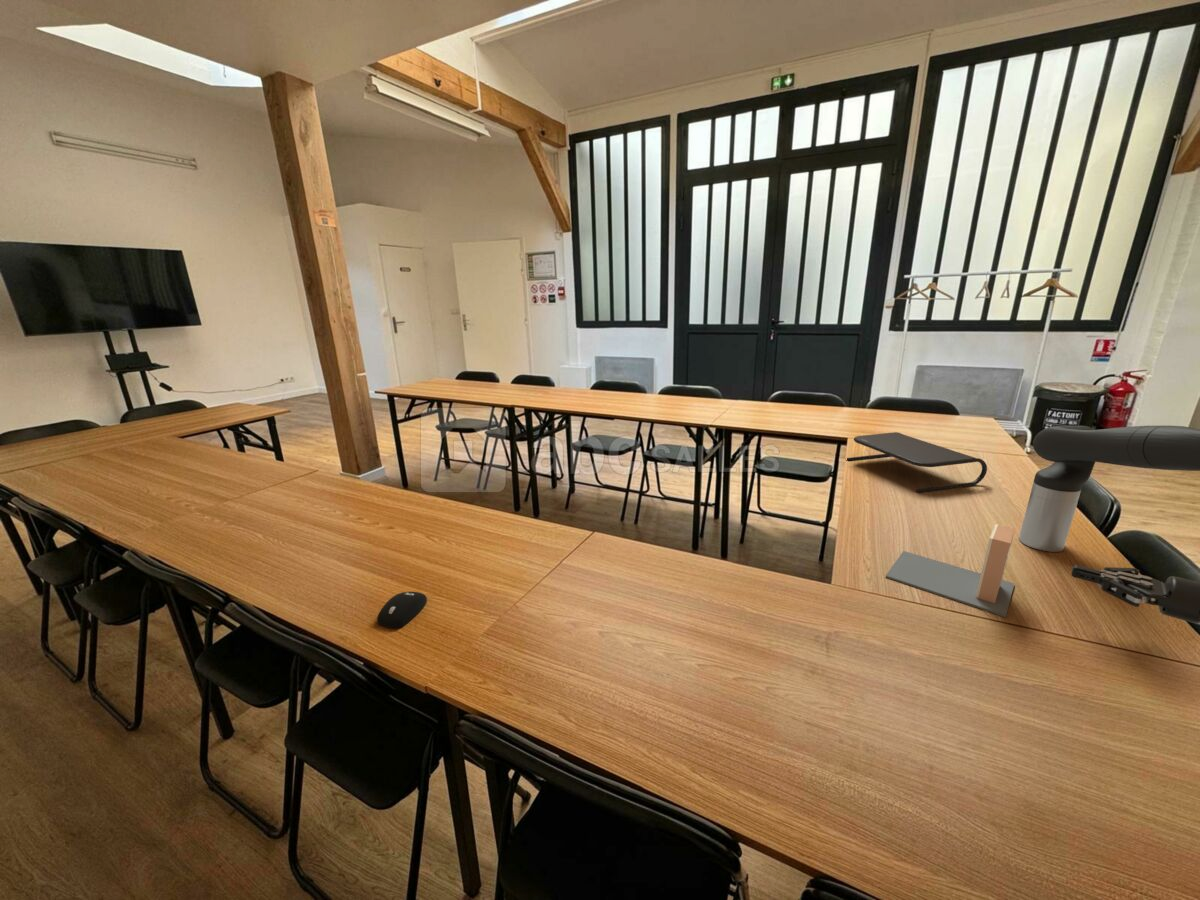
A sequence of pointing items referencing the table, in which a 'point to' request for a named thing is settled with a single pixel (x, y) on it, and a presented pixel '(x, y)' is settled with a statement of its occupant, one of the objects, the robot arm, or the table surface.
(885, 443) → the monitor stand
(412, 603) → the computer mouse
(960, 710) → the table surface
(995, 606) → the mat
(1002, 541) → the peach rectangular block
